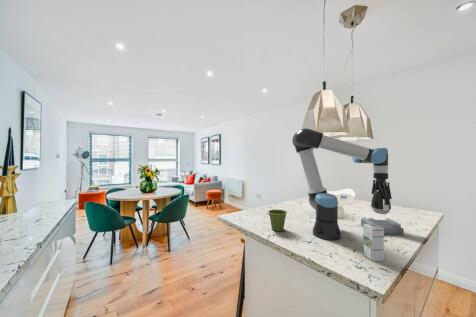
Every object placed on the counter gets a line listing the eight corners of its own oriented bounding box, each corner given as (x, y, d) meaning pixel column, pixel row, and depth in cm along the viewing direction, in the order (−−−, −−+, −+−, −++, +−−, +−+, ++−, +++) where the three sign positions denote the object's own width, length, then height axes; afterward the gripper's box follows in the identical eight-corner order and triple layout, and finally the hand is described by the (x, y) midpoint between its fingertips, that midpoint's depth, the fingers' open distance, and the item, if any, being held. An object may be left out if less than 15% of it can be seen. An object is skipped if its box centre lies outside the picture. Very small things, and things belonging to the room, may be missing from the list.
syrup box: (384, 261, 85) (384, 227, 85) (372, 261, 85) (372, 228, 85) (374, 254, 91) (374, 223, 91) (362, 255, 91) (362, 223, 91)
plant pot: (285, 226, 129) (285, 209, 129) (288, 233, 117) (288, 214, 117) (267, 226, 130) (267, 208, 130) (268, 232, 118) (268, 213, 118)
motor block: (373, 233, 116) (373, 224, 116) (358, 223, 136) (358, 214, 136) (403, 235, 114) (403, 225, 114) (383, 224, 134) (383, 215, 134)
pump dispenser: (395, 215, 117) (395, 190, 117) (375, 214, 119) (375, 189, 119) (386, 211, 127) (385, 187, 127) (368, 210, 129) (368, 187, 129)
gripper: (399, 173, 111) (399, 213, 111) (377, 171, 134) (377, 203, 134) (384, 173, 112) (384, 212, 112) (365, 171, 135) (365, 203, 135)
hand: (380, 207), depth 123 cm, fingers closed on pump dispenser, 10 cm apart
